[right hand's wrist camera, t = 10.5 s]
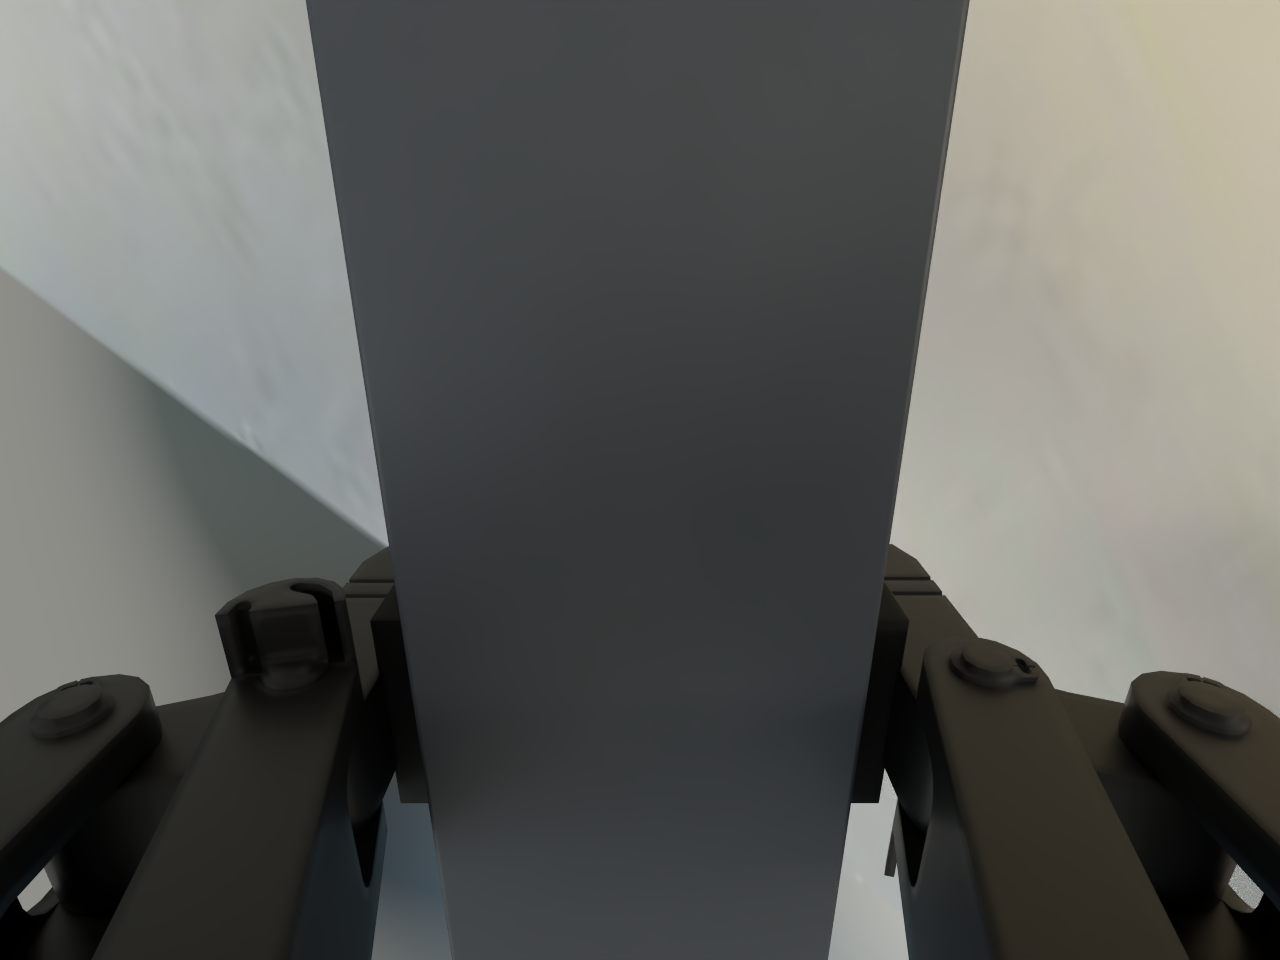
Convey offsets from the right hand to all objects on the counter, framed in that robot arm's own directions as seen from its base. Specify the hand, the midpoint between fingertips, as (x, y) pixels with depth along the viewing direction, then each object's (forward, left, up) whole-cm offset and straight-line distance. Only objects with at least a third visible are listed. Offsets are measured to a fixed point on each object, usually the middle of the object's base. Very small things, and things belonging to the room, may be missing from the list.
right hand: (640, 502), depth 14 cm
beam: (+3, -31, -1) cm, 31 cm away
